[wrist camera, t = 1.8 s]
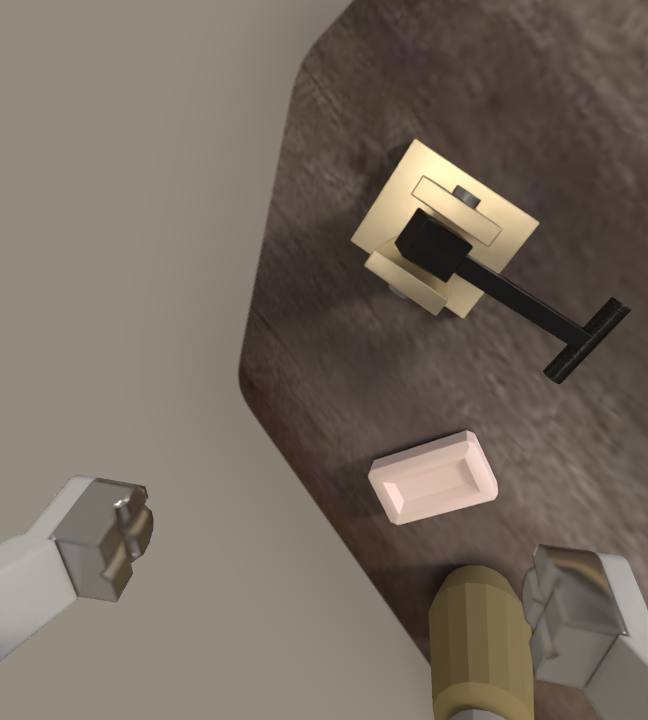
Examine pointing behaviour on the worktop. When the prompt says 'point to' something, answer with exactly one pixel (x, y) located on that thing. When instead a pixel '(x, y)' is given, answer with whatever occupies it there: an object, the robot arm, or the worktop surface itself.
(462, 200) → the cream lever mount
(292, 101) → the worktop surface
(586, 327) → the lever
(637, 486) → the worktop surface
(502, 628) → the squeeze bottle
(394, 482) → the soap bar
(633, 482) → the worktop surface
